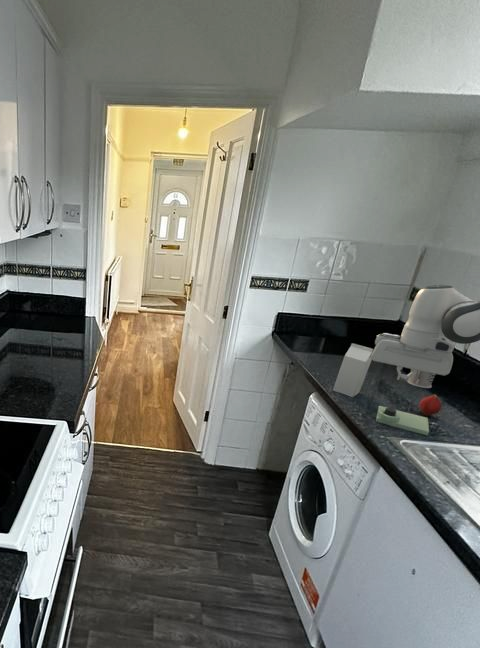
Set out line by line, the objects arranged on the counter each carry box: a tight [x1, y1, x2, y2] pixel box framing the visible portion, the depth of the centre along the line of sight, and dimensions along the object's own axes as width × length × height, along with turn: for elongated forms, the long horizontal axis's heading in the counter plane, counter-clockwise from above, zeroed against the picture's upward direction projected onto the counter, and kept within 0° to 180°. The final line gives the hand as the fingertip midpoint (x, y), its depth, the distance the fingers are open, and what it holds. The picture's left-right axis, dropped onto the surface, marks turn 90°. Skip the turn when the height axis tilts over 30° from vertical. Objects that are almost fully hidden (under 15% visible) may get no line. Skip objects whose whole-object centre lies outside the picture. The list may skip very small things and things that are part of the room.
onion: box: [419, 394, 442, 417], centre depth 142 cm, size 6×6×8 cm
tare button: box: [384, 407, 397, 416], centre depth 136 cm, size 3×3×2 cm
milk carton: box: [332, 343, 374, 398], centre depth 153 cm, size 7×7×19 cm
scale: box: [375, 405, 430, 436], centre depth 137 cm, size 14×12×3 cm
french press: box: [407, 330, 442, 389], centre depth 164 cm, size 10×12×25 cm
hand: (402, 380), depth 131 cm, fingers closed
